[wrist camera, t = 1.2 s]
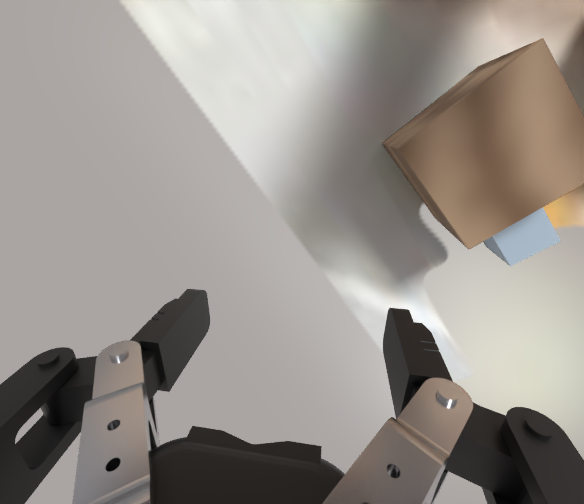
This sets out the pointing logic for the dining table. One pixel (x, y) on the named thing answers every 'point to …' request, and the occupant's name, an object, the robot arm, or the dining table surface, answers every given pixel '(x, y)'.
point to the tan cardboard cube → (495, 145)
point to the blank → (523, 238)
